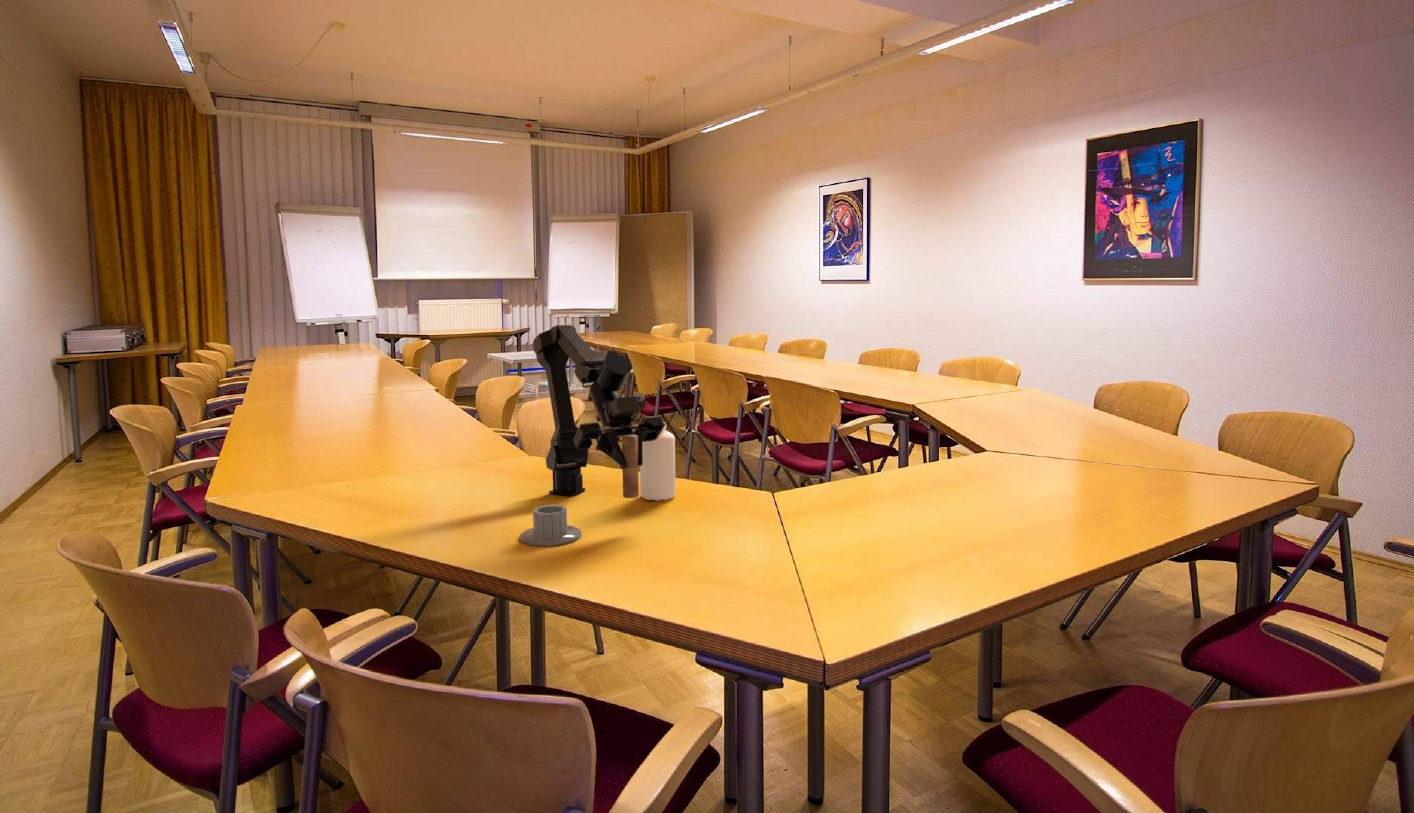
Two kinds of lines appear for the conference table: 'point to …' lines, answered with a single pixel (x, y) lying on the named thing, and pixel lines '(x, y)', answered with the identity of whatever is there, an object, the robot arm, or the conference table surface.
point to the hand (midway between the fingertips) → (633, 465)
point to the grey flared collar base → (550, 528)
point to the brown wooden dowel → (630, 466)
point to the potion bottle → (658, 467)
